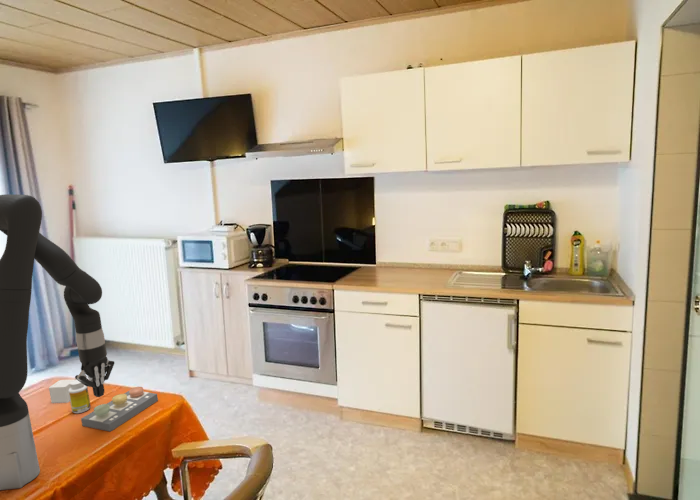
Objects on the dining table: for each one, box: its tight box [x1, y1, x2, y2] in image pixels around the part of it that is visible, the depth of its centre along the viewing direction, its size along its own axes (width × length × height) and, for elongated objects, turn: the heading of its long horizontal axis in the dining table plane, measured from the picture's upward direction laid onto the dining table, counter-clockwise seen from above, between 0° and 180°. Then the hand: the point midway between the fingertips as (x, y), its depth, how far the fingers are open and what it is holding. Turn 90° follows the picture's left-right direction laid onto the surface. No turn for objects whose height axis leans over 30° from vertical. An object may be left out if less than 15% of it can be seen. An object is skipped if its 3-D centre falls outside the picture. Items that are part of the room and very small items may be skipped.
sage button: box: [93, 403, 110, 416], centre depth 149 cm, size 4×4×2 cm
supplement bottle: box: [69, 379, 91, 414], centre depth 158 cm, size 6×6×10 cm
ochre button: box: [111, 393, 127, 405], centre depth 155 cm, size 4×4×2 cm
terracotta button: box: [128, 386, 145, 397], centre depth 162 cm, size 4×4×2 cm
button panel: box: [80, 390, 159, 433], centre depth 156 cm, size 20×12×3 cm, turn 159°
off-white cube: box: [48, 378, 77, 404], centre depth 168 cm, size 6×6×6 cm
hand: (99, 395), depth 148 cm, fingers closed
